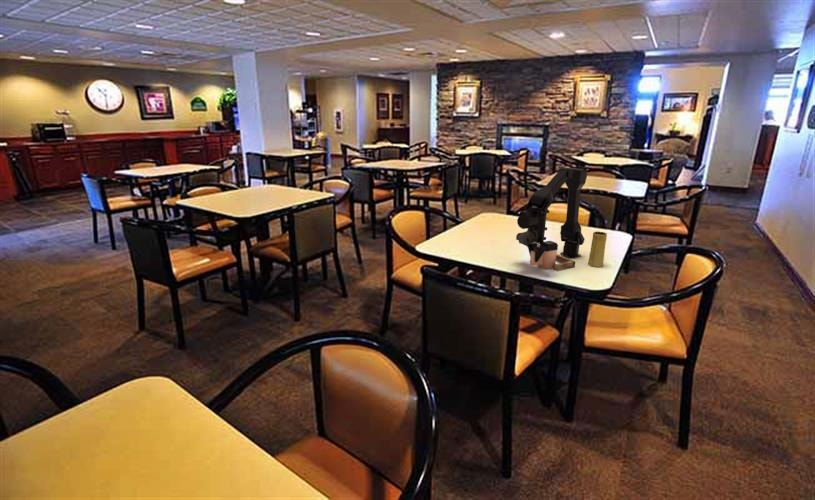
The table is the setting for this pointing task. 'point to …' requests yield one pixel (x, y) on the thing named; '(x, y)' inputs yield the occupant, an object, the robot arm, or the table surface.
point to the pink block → (544, 259)
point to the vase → (597, 249)
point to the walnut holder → (563, 263)
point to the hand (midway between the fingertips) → (534, 261)
